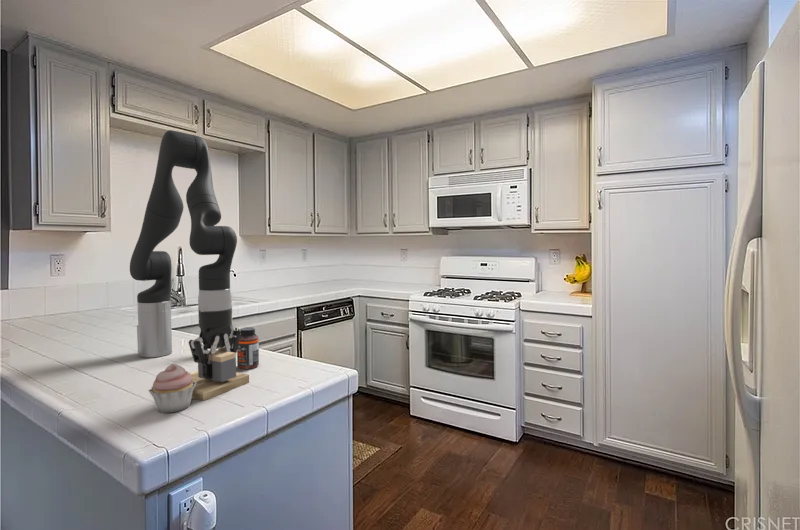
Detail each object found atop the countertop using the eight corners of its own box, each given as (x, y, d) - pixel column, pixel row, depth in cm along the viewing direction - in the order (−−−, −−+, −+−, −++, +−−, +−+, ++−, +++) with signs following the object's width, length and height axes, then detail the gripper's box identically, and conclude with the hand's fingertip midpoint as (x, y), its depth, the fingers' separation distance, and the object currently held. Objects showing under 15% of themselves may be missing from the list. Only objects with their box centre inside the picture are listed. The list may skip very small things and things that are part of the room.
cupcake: (140, 417, 89) (138, 370, 88) (162, 400, 98) (161, 357, 97) (186, 416, 89) (184, 369, 88) (204, 399, 98) (203, 357, 98)
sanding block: (198, 377, 105) (197, 353, 104) (213, 372, 109) (212, 349, 108) (221, 382, 101) (220, 357, 101) (236, 376, 105) (235, 352, 105)
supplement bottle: (232, 368, 122) (231, 329, 122) (248, 362, 128) (248, 325, 127) (247, 370, 120) (246, 331, 119) (263, 365, 125) (262, 327, 124)
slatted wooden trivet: (160, 390, 104) (160, 382, 104) (208, 374, 117) (208, 367, 116) (203, 400, 97) (203, 392, 97) (249, 382, 110) (249, 374, 110)
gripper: (227, 302, 112) (228, 365, 113) (178, 310, 99) (180, 382, 100) (248, 304, 109) (249, 369, 110) (200, 313, 96) (202, 386, 97)
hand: (216, 375), depth 105 cm, fingers closed on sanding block, 4 cm apart
